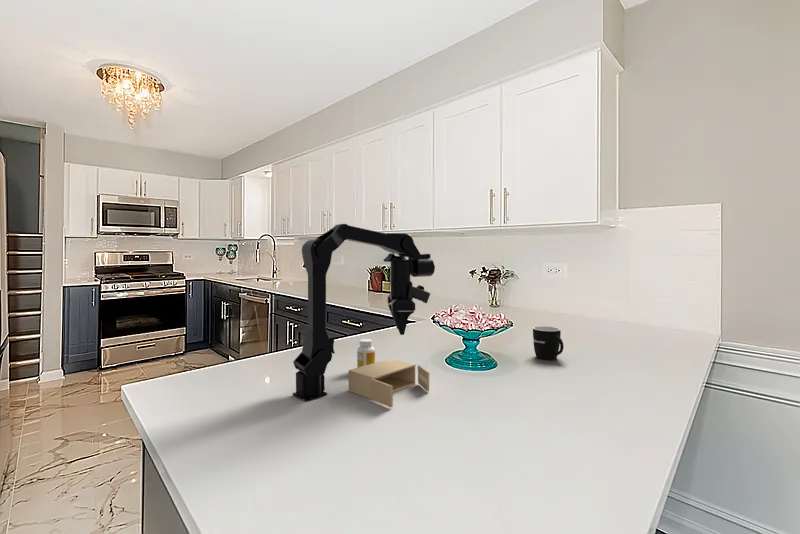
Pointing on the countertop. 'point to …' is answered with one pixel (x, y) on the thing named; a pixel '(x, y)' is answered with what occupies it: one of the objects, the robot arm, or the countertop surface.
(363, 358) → the supplement bottle
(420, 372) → the right flap
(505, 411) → the countertop surface
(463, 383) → the countertop surface
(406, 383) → the carton
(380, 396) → the left flap
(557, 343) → the mug
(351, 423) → the countertop surface
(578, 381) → the countertop surface
